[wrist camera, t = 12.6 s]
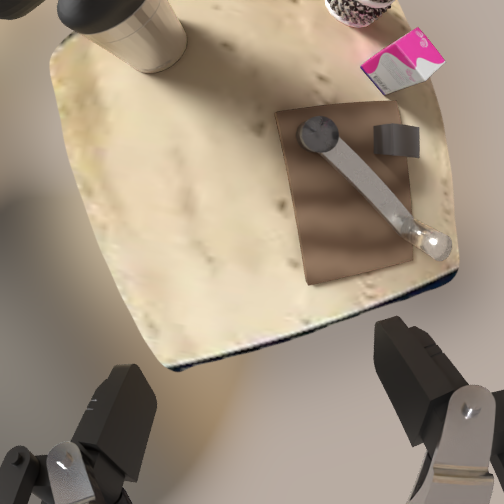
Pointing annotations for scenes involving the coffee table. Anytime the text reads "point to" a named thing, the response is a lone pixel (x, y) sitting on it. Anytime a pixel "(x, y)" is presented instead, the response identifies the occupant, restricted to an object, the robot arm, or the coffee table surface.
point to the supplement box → (403, 63)
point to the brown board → (348, 189)
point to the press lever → (370, 186)
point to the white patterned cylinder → (357, 11)
